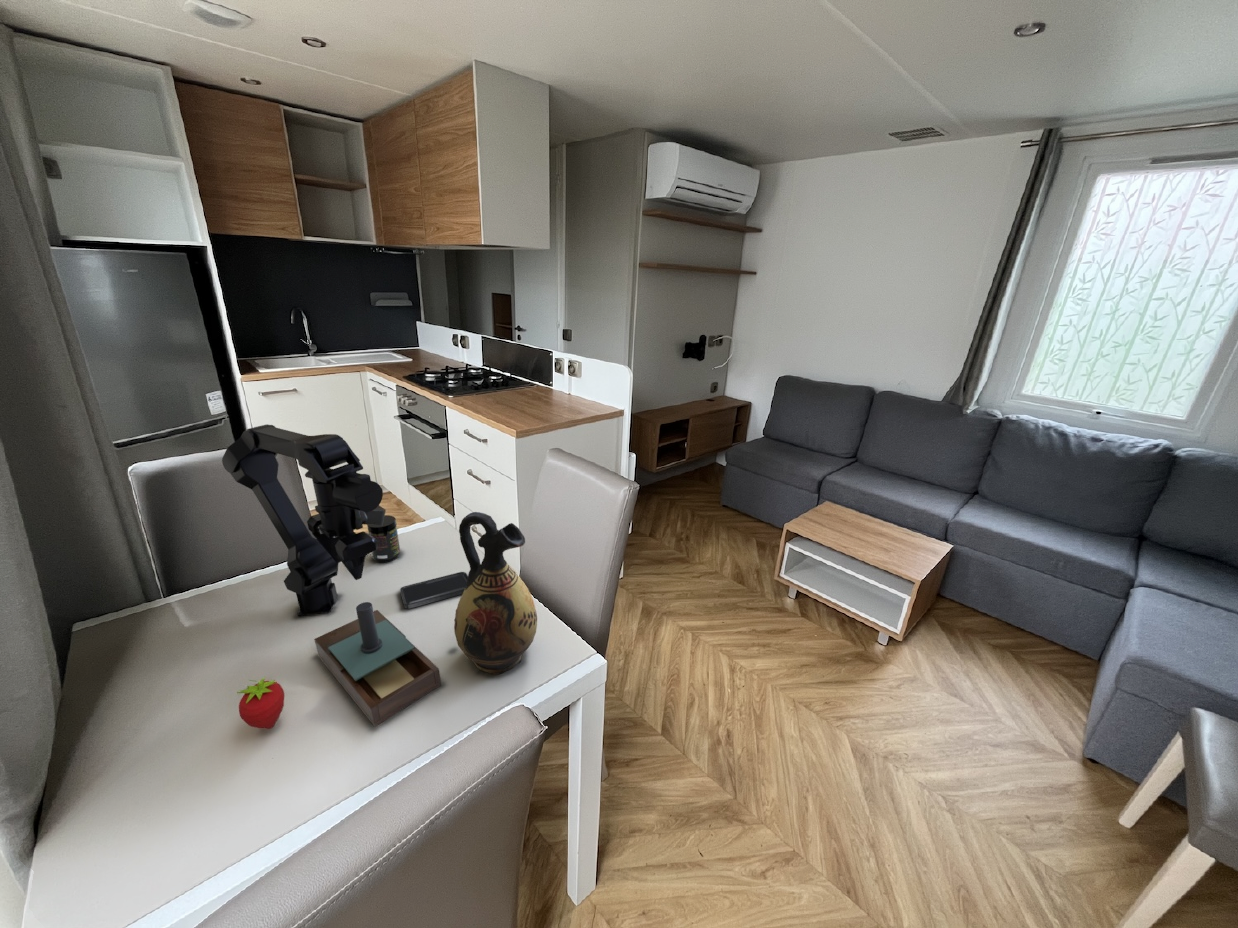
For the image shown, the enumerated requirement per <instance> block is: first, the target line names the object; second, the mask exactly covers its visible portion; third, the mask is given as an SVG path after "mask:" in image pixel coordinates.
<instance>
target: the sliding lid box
mask: <svg viewBox="0 0 1238 928" xmlns="http://www.w3.org/2000/svg"><path fill="white" fill-rule="evenodd" d="M373 612H374V618H375V623H376V624H377V623H380V622H382V621H384V620H387V621H388V622H389V623H390V624H392V625H393V626H394V627H395V628H396V629H397V630H398V631H399V632H400V633H401V634H402V635H403V636H404V637H405V638H407V636H406V635H405V634H404V633H403V632H402V631H401V630H400V629H398V628H397V627H396V625H394V624H393V623H392V622H391V621H390V620H389V619H388V618H387V617H386V616H385V615H384V614H382V613H381V612H380V611H379V610H378V609H376V610H373ZM359 632H360V627H359V622H358V618H356V619H354V620H352V621H350V622H348V623H345V624H344V625H341V626H339V627H337V628H335V629H333V630H331V631H328V632H326V633H324V634H322V635H320V636H317V637H315V638H314V645H315V649H316V652H317V656H318V658H319V659H320V660H321V661H322V663H323V664H324V665H325V667H326V668H327V669H328V670H329V672H330V673H331V674H332V675H333V676H334V678H335V679H336V680H337V681H338V683H339V684H340V685H341V687H342V688H343V689H344V690H345V692H346V693H347V694H348V695H349V697H350V698H351V699H352V700H353V702H354V703H355V704H356V705H357V707H358V708H359V709H360V710H361V711H362V713H363V714H364V715H365V717H366V718H367V719H368V720H369V722H370V723H371V725H372V726H374V727H378V726H379V725H380V724H381V723H383V722H384V721H387V720H388V719H389V718H391V717H393V716H394V715H396V714H398V713H399V712H401V711H402V710H404V709H405V708H407V707H409V706H410V705H412V704H413V703H415V702H417V701H418V700H420V699H421V698H424V697H425V696H426V695H428V694H429V693H430V692H432V691H435V690H436V689H437V688H439V687H440V686H442V681H441V673H440V668H439V667H438V666H437V665H436V663H434V662H432V660H431V659H429V658H428V657H427V656H426V655H425V654H424V653H423V652H422V651H421V650H419V649H418V647H416V646H415V649H413V650H411V651H409V652H408V653H406V654H404V655H402V656H400V657H399V658H397V659H395V660H393V661H391V662H389V663H388V664H386V665H384V666H382V667H380V668H378V669H377V670H375V671H373V672H371V673H369V674H368V675H366V676H364V677H362V678H360V679H358V680H357V681H355V680H354V679H353V677H352V676H351V675H350V674H349V673H348V672H347V670H346V669H345V668H344V667H343V666H342V664H341V663H340V662H339V661H338V660H337V658H336V657H335V656H334V655H333V654H332V653H331V651H330V650H329V649H328V647H330V646H332V645H334V644H336V643H338V642H340V641H342V640H344V639H346V638H348V637H351V636H353V635H355V634H357V633H359Z"/></svg>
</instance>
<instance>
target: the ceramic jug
mask: <svg viewBox="0 0 1238 928" xmlns="http://www.w3.org/2000/svg"><path fill="white" fill-rule="evenodd" d="M477 525H481V526H482V528H483V529H484V531H485V533H484V534H482V535H481V536H480V538H479V539H478V540H477V546H479V548H483V550H484V556H483V559H482V561H481V559H480V557H479V556H480V555H479V553H478V551H477V549H476V546H475V542H474V539H473V536H472V533H471V528H472V526H477ZM458 532H459V540H460V541H459V542H460V544H461V546H462V550H463V552H464V554H465V555H464V556H465V558H466V560H467V563H468V565H469V571H468V574H467V576H468V579H467V585H466V588H465V590H464V592H463V594H461V595H460V596H461V597H460V598H459V600H458V603H457V607H456V609H455V615H454V625H453V630H454V636H455V640H456V643H457V646H458V648H459V649H460V650H461V652H463V654H465V656H466V657H468V658H469V659H470V660H471V661H472V662H473V664H474V666H476V668H477V669H479V670H480V671H483V672H485V673H489V674H492V675H500V674H503V673H505V672H507V671H509V670H512V669H514V668H516V667H517V666H518V665H520V663H522V657H523V654H524V653H525V652H526V651H527V650H528V649H529V647H530V646H531V645H532V644H533V642H534V640H535V639H534V638H535V636H536V633H537V628H538V614H537V609H536V605H535V602H534V598H533V596H532V594H531V592H530V589H529V587H528V586H527V585H526V584H525V582H524V580H522V578H521V577H520V575H519V574H518V573H517V572H516V570H515V569H514V568H512V567H511V566H510V564H509V563H508V562H507V561H506V559H505V557H504V553H505V552H506V551H508V550H511V549H517V548H521V547H523V546H524V545H525V544H526V538H525V536H524V534H523V532H522V531H521V530H520V528H519V527H518V526H517V525H515V524H514V523H512V522H511V523H508V524H506V525H505V526H503V527H502V528H500V529H499V530H498V526H497V523H496V521H495V520H494V519H493V517H492V516H491V515H489V514H487V513H484V512H479V511H472V512H470V513H468V514H467V515H466V516H464V517H463V518H462V519H461V522H460V524H459V528H458Z"/></svg>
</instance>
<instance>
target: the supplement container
mask: <svg viewBox="0 0 1238 928" xmlns="http://www.w3.org/2000/svg"><path fill="white" fill-rule="evenodd" d="M397 524H398V523H397V519H396V517H395V516H393V515H388V514H385V516H384V521H383V525H377V524H367V525H366V527H367V531H368V532H367V533H368V534H370V535H371V536H372V537H374V538H375V539H376V540H377V546H378V548H377V550H375V551H373V552H371V555H372V559H373V560H374V561H375V562H377V563H389V562H392V561H395V560H396V559H398V558H399V556H400V555H401V553H402V552H401V545H400V539H399V533H398V526H397Z"/></svg>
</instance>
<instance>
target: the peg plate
mask: <svg viewBox="0 0 1238 928" xmlns="http://www.w3.org/2000/svg"><path fill="white" fill-rule="evenodd" d="M355 611H356V616H357V619H358V622H359V627H360V632H359V633H357V634H355V635H353V636H351V637H348V638H346V639H344V640H342V641H340V642H338V643H336V644H334V645H332V646H330V647H328V649H329V650H330V651H331V653H332V654H333V655H334V656H335V657H336V658H337V660H338V661H339V662H340V663H341V664H342V666H343V667H344V668H345V669H346V670H347V672H348V673H349V674H350V675H351V676H352V677H353V679H354V680H355V681H357V680H358V679H360V678H362V677H364V676H366V675H368V674H369V673H371V672H373V671H375V670H377V669H378V668H380V667H382V666H384V665H386V664H388V663H389V662H391V661H393V660H395V659H397V658H399V657H400V656H402V655H404V654H406V653H408V652H409V651H411V650H413V649H415V647H416V646H415V644H413V643H412V642H411V641H410V640H409V639H408V638H407V637H406V638H405V637H404V636H403V635H402V634H401V633H400V632H399V631H398V630H399V629H398V628H397V627H396V626H395V625H394V624H393V623H392V624H393V625H394V626H395V627H396V628H397V629H398V630H397V629H396V628H395V627H394V626H393V625H392V624H390V623H389V622H388V621H387V620H384V621H382V622H380V623H377V624H376V623H375V618H374V608H373V603H372V602H369V601H365V602H364V601H363V602H360V603H359V604H358V605H356V607H355Z"/></svg>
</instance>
